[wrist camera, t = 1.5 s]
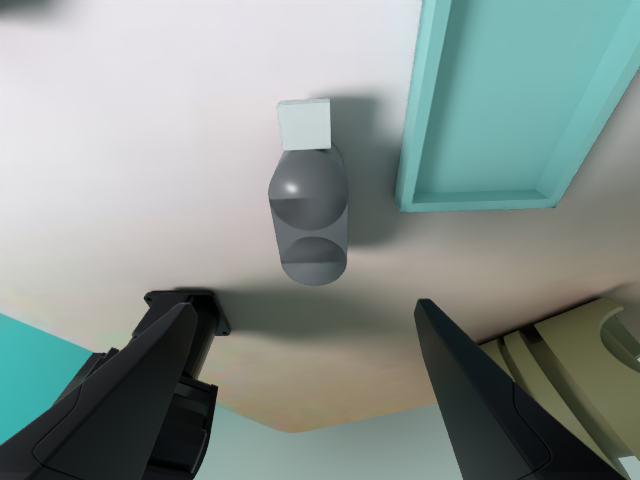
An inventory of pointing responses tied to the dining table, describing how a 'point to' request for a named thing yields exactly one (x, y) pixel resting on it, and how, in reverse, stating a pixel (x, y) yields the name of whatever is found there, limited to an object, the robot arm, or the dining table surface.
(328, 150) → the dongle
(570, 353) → the piston
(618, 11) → the tray
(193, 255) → the dining table surface
